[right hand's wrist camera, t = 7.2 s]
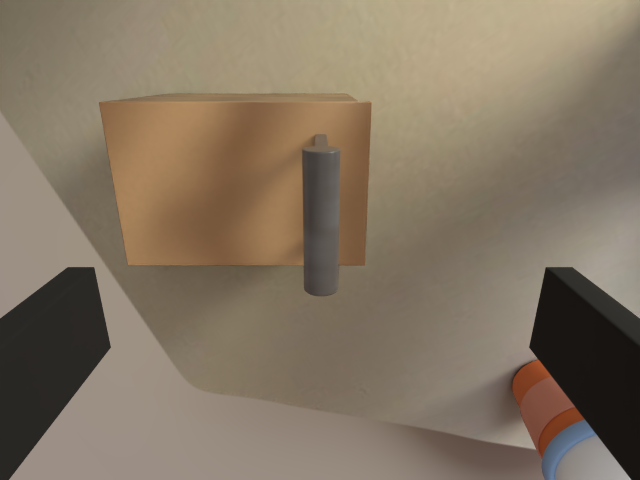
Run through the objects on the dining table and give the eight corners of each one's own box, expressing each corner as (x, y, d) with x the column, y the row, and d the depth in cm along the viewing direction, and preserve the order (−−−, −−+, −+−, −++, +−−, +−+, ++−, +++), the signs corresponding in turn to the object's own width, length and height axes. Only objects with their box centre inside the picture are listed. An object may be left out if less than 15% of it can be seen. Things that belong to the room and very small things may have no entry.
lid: (369, 100, 25) (391, 112, 17) (363, 258, 28) (379, 325, 21) (107, 100, 25) (14, 112, 17) (134, 258, 28) (66, 325, 21)
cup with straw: (496, 420, 47) (595, 613, 30) (497, 350, 43) (609, 524, 27) (581, 411, 46) (730, 602, 29) (589, 340, 43) (761, 510, 26)
